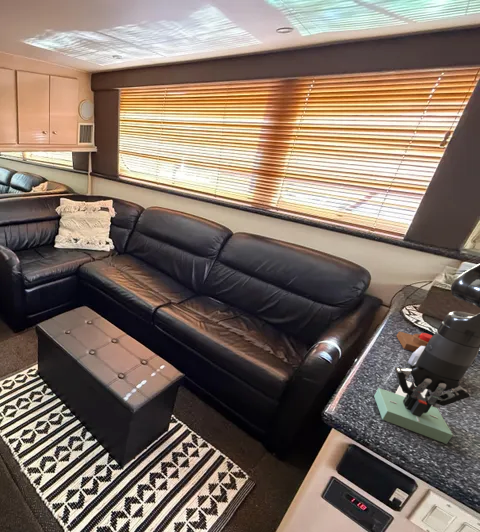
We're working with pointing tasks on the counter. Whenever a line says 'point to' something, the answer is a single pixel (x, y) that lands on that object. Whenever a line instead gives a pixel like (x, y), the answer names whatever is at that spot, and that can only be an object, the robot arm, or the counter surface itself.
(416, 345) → the button block
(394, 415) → the panel
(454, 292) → the robot arm
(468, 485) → the counter surface
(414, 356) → the charger
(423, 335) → the power button
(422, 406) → the black block
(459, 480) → the counter surface
